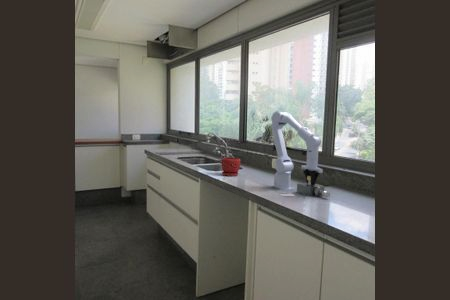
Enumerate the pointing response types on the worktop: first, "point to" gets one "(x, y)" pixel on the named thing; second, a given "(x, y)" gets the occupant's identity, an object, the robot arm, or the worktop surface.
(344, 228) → the worktop surface
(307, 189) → the chuck
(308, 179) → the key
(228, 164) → the plant pot
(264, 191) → the worktop surface
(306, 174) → the robot arm
